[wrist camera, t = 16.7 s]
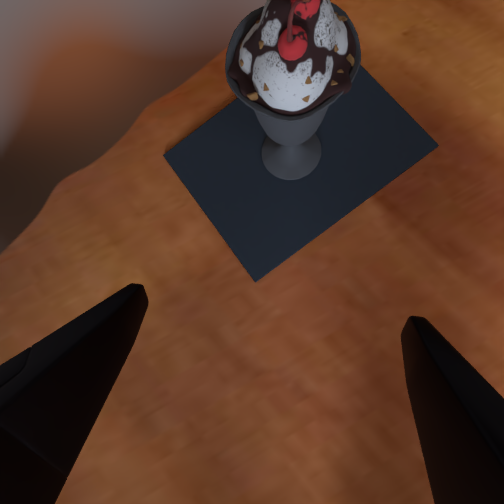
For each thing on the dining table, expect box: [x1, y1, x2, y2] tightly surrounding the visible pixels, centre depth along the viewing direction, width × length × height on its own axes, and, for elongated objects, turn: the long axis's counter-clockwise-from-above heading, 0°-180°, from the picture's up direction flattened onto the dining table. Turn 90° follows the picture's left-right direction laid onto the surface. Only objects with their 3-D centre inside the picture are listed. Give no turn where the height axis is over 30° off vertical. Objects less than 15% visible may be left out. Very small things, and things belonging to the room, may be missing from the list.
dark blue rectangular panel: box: [163, 65, 439, 282], centre depth 24 cm, size 14×18×1 cm
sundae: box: [225, 0, 361, 180], centre depth 17 cm, size 7×7×15 cm
